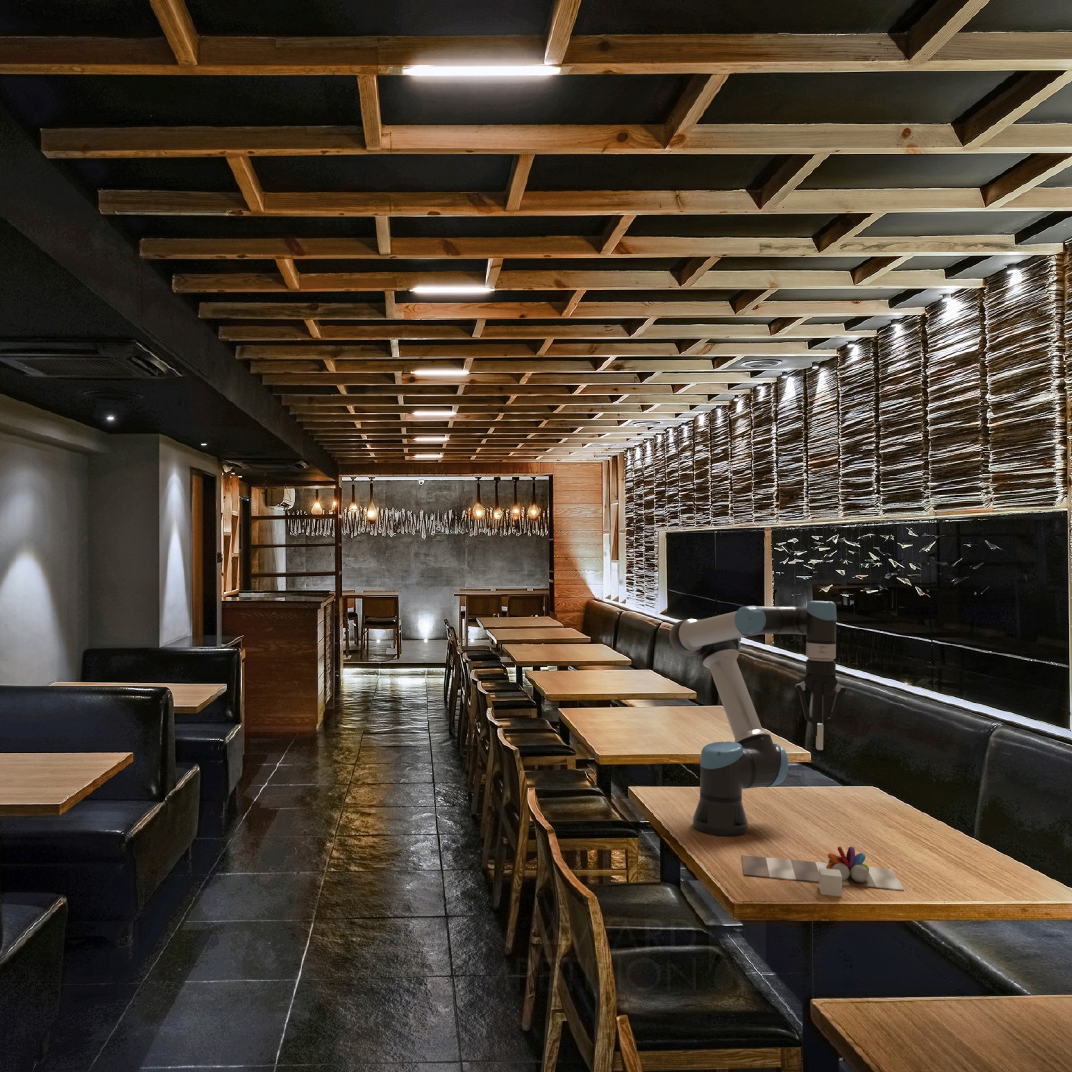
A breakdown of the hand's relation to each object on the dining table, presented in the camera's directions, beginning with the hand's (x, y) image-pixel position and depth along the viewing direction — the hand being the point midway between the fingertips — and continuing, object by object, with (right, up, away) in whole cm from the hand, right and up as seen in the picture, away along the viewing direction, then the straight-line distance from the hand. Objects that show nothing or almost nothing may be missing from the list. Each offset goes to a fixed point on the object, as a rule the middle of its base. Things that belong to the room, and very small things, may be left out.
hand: (819, 748), depth 225 cm
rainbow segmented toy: (0, -26, -22) cm, 33 cm away
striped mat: (-6, -26, -18) cm, 32 cm away
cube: (-8, -25, -30) cm, 40 cm away
